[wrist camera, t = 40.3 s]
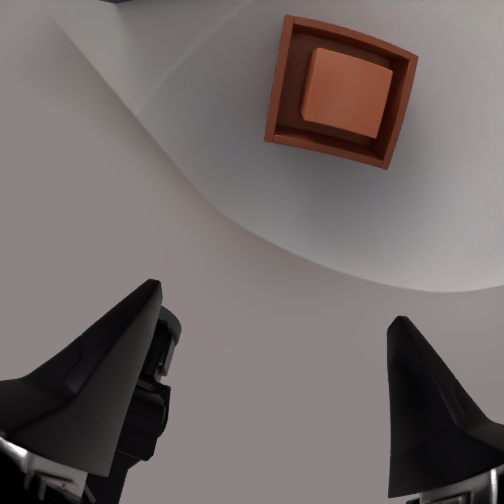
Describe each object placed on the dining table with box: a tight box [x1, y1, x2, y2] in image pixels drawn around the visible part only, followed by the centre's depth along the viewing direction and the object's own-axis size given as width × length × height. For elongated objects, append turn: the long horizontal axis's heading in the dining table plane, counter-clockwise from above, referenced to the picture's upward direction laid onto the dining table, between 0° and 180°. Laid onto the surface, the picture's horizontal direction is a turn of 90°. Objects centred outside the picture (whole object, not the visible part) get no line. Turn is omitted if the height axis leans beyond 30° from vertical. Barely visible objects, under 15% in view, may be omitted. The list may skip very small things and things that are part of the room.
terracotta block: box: [298, 48, 393, 139], centre depth 13 cm, size 4×4×4 cm
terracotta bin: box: [264, 15, 418, 170], centre depth 13 cm, size 8×8×3 cm
